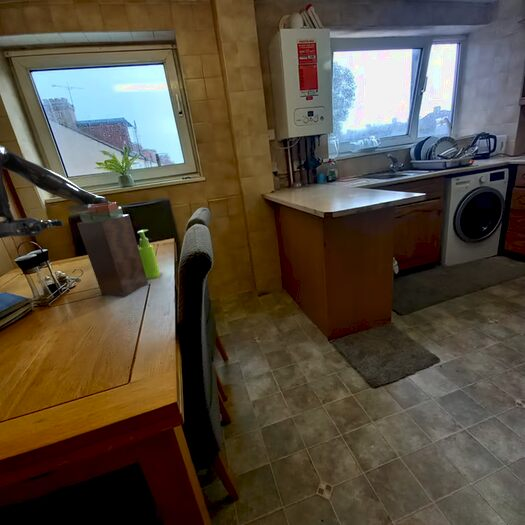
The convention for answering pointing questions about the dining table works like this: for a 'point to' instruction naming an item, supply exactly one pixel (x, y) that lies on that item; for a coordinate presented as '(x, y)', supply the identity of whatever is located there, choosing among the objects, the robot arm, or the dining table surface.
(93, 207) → the brown handled piece
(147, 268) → the soap dispenser
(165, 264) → the dining table surface
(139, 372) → the dining table surface
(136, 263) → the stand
